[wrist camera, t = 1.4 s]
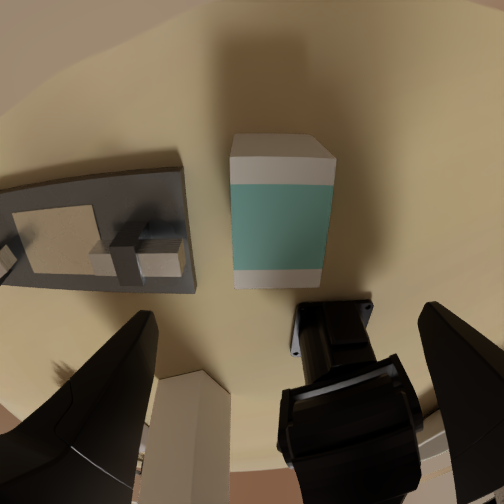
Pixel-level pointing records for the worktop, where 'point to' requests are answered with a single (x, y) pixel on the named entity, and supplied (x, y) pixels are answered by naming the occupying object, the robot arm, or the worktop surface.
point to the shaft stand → (99, 233)
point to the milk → (188, 443)
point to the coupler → (279, 209)
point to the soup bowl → (432, 437)
